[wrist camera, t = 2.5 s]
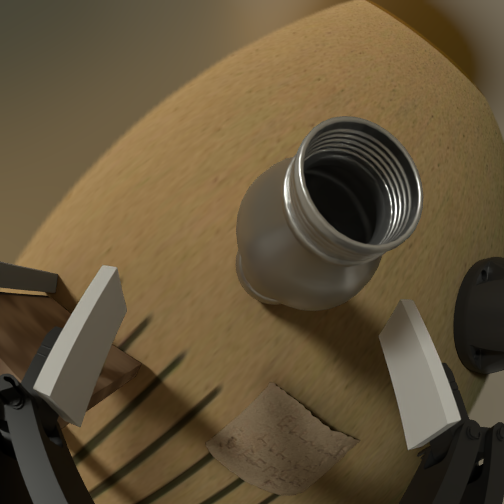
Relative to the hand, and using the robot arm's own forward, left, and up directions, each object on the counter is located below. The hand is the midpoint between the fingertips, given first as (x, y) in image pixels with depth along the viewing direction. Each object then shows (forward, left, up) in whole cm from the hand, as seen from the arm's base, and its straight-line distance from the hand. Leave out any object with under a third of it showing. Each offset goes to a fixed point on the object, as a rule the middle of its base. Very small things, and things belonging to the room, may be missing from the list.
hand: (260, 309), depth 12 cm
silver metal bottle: (-2, -4, -13) cm, 14 cm away
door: (+15, +5, -13) cm, 20 cm away
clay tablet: (-6, +14, -14) cm, 21 cm away
